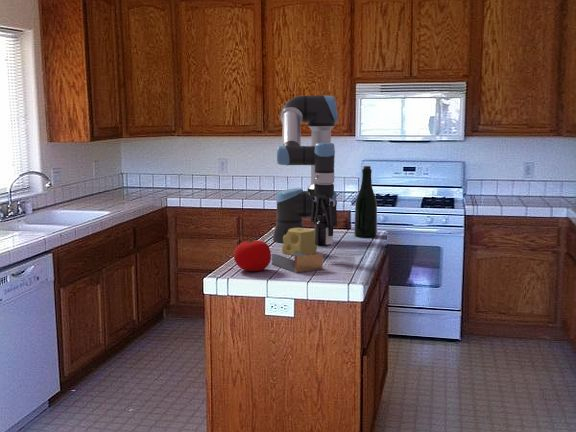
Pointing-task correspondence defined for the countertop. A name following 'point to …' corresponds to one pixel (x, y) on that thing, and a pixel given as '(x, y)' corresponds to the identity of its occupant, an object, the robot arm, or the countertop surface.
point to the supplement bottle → (321, 231)
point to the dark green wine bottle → (366, 207)
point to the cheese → (299, 241)
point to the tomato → (252, 255)
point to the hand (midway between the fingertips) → (323, 242)
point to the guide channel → (299, 262)
